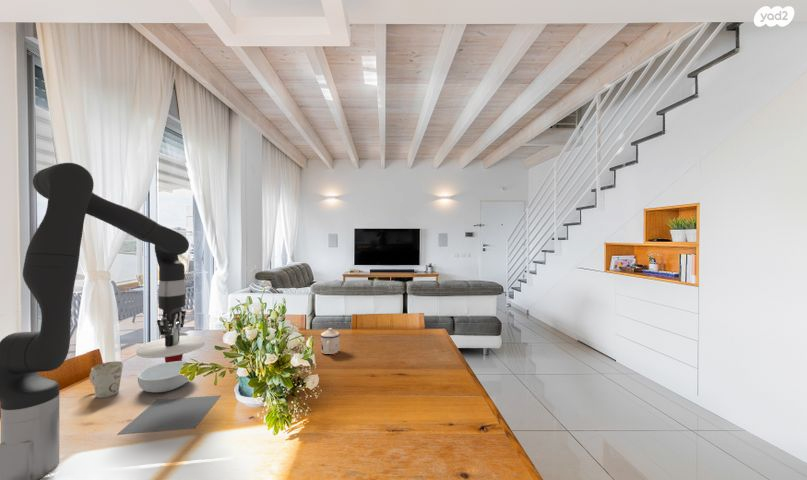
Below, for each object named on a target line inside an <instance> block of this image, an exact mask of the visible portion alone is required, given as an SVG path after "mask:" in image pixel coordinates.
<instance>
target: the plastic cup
mask: <svg viewBox="0 0 807 480" xmlns="http://www.w3.org/2000/svg"><path fill="white" fill-rule="evenodd" d="M188 335H190V334H189V333H187V332H184V331H179V336H188ZM162 338H165V335H161V334H160V336H159V339H162ZM183 355H184V354H181V355H176V356H170V357H164V361H165V362H164V363H167V362H174V361H183V357H184V356H183Z"/></svg>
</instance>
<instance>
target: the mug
mask: <svg viewBox="0 0 807 480" xmlns="http://www.w3.org/2000/svg"><path fill="white" fill-rule="evenodd" d="M123 366H124V362H123V361H120V360H119V361H117V360H115V361H107V362H103V363H99V364H96V365H94V366H93V367H91V371H90V373H89V377H88V378H89V381H90V383H91V384H92V386H93V389H94V394H95V397H96V398H99V399H104V398H108V397H112V396H115V395H116V394H118V393H119V391H120V386H121V379H122V373H123Z"/></svg>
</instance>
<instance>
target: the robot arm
mask: <svg viewBox="0 0 807 480" xmlns="http://www.w3.org/2000/svg"><path fill="white" fill-rule="evenodd" d="M32 185H33V188H34V189H35V191H36V192H37V193H38V194H39V195H40V196H42V197H43V198H45V199H46V200H47V204H46V205H47V207H46V211H45V214H44V216H43V218H42V220H41V222H40V223H39V226H38V228H36V230H35V233H34V234H33V236H32V238H31V240H30V242H29V244H28V247H27V250H26V253H25V258H24V264H23V268H22V278H23V281H24V283H25V285H26V287H27V288H28V290H29V291H30V293H31V294H32V296H33V298H34V299H35V301H36V302H37V304H38V306H39V309H40V314H41V316H40V317H41V325H40V330H39V331H38V330H37V331H20V332H12V333H11V334H8V335H6V336H5V337H3V338H2V339H1V340H0V480H39V479H41V478H44V477H46V476H48V475H49V474H50V473H51V472H52V471H53V470H54V469H56V468H57V466H59V464H60V384H59V382H58V381H56V380H53V379H51V378H46V377H44V376H43V375H40V374H39V373H41V372H42V373H43V372H51V371H55V370H57V369H59V368H60V367H61V366H62V365H63V364H64V362H65V361H66V359H67V356H68V354H69V351H70V346H71V323H72V305H73V295H74V290H75V283H76V279H77V278H76V277H77V274H78V273H77V272H78V269H79V268H78V267H79V261H80V253H81V245H82V240H83V239H82V238H83V232H84V223H85V219H86V215H88V216H91V217H93V218H95V219H98V220H100V221H103V222H104V223H106V224H108V225H111V226H113V227H114V228H117V229H118V230H120V231H122V232H124V233H126V234H128V235H130V236H132V237H134V238H136V239H137V240H139V241H140V242H141V241H142V242H144V243H150V244H152V245H154V253H155V256H156V257H155V258H156V261H157V265H158V267H159V271H158V280H159V282H158V286H157V287H158V288H157V289H158V294H157V295H158V298H157V300H158V306H157V307H158V309H160V310H163V311H162V312H163V313H162V318H160V319H157V320H156V325H157V326H158V327H157V328H158V330H159V333H160V336H161V335H165V346H166V347H170V346H173V345H174V337H173V333H174V328H178V342H179V332H181V330H182V329H181V328H184V324H185V319H186V314H187V310H185V309H184V310H182V308H184V307H185V306H186V300H187V299H186V298H187V297H186V293H187V292H186V286H187V285H186V280H185V278H186V277H185V274H186V271H185V265H184V263H183V262H181V261H180V259H179V256H180V255H183V254H185V253H187V251H188V250H189V247H190V243H189V240H188V238H186V236H184V234H181V233H180V232H179V231H176V230H174V229H172V228H169V227H166V226H164V225H162V224H160V223H158V222H156V221H155V220H153V219H152V218H151V217H148V216H147V215H145V214H143V212H140V211H137V210H135V209H133V208H130V207H128V206H125V205H123V204H121V203H116V202H114V201H111V200H109V199H107V198H104V197H102V196H100V195H98V194H97V193H94V192H93V191H94V186H95V185H94V178H93V176H92V174H91V173H90V171H89V170H88V169H87V168H86V167H84V166H83V165H81V164H79V163H75V162H63V163H62V162H61V163H57V164H54V165H52V166H48V167H45V168H43V169H40V170H39V171H37V172H36V173H35V174H34V176H33V177H32Z"/></svg>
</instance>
